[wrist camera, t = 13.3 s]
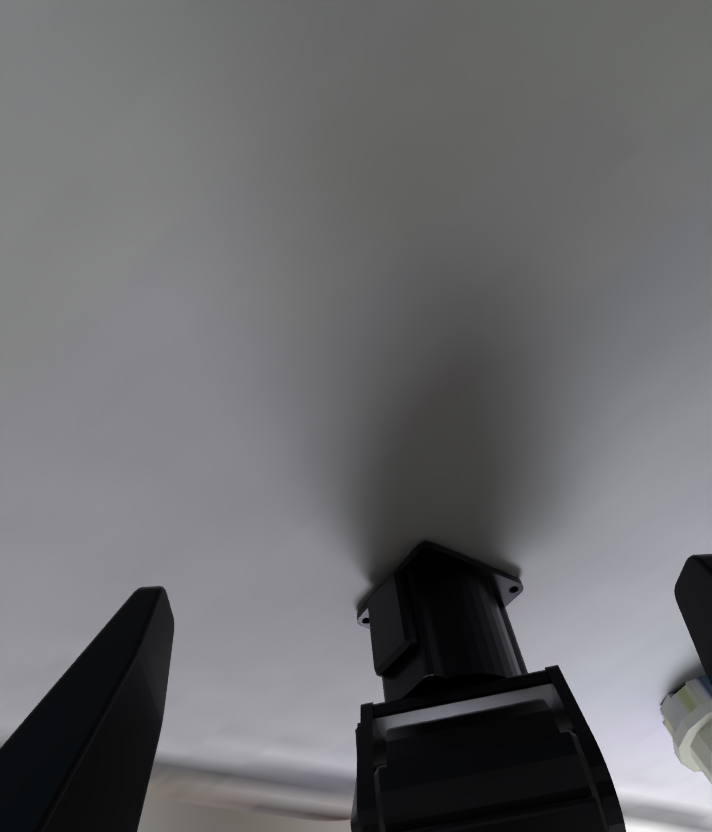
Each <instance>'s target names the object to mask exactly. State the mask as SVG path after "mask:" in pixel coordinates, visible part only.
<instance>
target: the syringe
mask: <svg viewBox="0 0 712 832" xmlns="http://www.w3.org/2000/svg"><path fill="white" fill-rule="evenodd" d="M685 684H686V685H685V686H683V687H682V688H681V689H680V690H679V691H678V692H677V693H676V694H667V696H666V698H665V700H664V702H663V704H662V706H661V708H660V709H661V711H662V713H663V716H664V721H663V724H664V725H665V727H666V728H667V730H668V732H669V733H670V735H671V736H672V739H673V745H674V752H675V754H676V756H677V758H678V759H679V761H680V763H681V764H683V765H684V766H686V767H687V768H689V769H691V770H692V771H694V772H698V771H702V772H703V773H704V775H705V776H706V777H707V778H708V780H709V781H710V782H711V784H712V685H711V683H710V681H709V679H708V677H707V676H702V677H699V678H696V679H693V680H690V681H687V682H685Z"/></svg>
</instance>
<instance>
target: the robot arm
mask: <svg viewBox="0 0 712 832" xmlns="http://www.w3.org/2000/svg"><path fill="white" fill-rule="evenodd" d="M427 551H429V552H427ZM425 552H426V553H425ZM522 591H523V585H522V583H521V580H520V579H519V578H517V577H515V576H513V575H510V574H508V573H505V572H503V571H500V570H498V569H496V568H493V567H491V566H488V565H486V564H483V563H481V562H479V561H476V560H474V559H471V558H469V557H466V556H464V555H462V554H459V553H457V552H454V551H452V550H449V549H447V548H444V547H442V546H440V545H437V544H435V543H432V542H423V543H420V544H419V545H418V546H417V547H416V548H415V549H414V550H413V551H412V552H411V553H410V555H409V556H408V557H407V558H406V559H405V560H404V561H403V562H402V563H401V565H400V566H399V567H398V568H397V569H396V570H395V571H394V572H393V573H392V574H391V575H390V576H389V577H388V578H387V579H386V581H385V582H384V583H383V584H382V585H381V586H380V587H379V588H378V589H377V591H376V592H375V593H374V594H373V595H372V596H371V597H370V598H369V599H368V601H367V602H366V603H365V604H364V606H363V607H362V608H361V609H360V610H359V611H358V613H357V623H358V624H359V625H361V626H363V627H366V628H369V629H370V632H371V642H372V651H373V661H374V669H375V672H376V675H377V676H380V677H382V681H383V689H384V698H385V702H383V703H378V704H373V702H372V703H367V704H362V705H361V723H358V727H357V729H356V730H355V732H356V746H357V778H356V786H355V793H354V800H353V807H352V814H351V831H352V832H626V829H625V823H624V819H623V815H622V811H621V807H620V804H619V800H618V797H617V794H616V791H615V788H614V785H613V782H612V779H611V776H610V773H609V771H608V768H607V765H606V763H605V760H604V758H603V756H602V753H601V751H600V749H599V747H598V744H597V742H596V740H595V738H594V736H593V734H592V732H591V730H590V728H589V726H588V724H587V722H586V720H585V718H584V716H583V714H582V712H581V710H580V708H579V706H578V704H577V702H576V700H575V698H574V696H573V694H572V692H571V690H570V688H569V686H568V684H567V682H566V680H565V678H564V676H563V674H562V672H561V670H560V668H559V666H558V665H555V666H550V667H545V670H542V671H537V672H532V673H528V672H527V669H526V666H525V663H524V660H523V657H522V655H521V652H520V649H519V646H518V643H517V640H516V637H515V635H514V632H513V629H512V626H511V623H510V620H509V617H508V615H507V612H506V609H505V607H506V606H507V605H508V604H509V603H510V602H511V601H512V600H513V599H515V598H516V597H517V596H518V595H519V594H520V593H521V592H522ZM675 598H676V601H677V604H678V606H679V609H680V611H681V613H682V616H683V618H684V621H685V623H686V626H687V628H688V631H689V633H690V636H691V638H692V640H693V643H694V645H695V648H696V650H697V653H698V655H699V658H700V660H701V663H702V665H703V667H704V670H705V672H706V674H707V677H708V679H709V681H710V683H711V685H712V554H702V555H692V556H690V557H689V558H688V559H687V560H686V562H685V565H684V567H683V569H682V571H681V573H680V576H679V578H678V580H677V582H676V585H675ZM173 635H174V618H173V614H172V610H171V607H170V603H169V600H168V596H167V593H166V590H165V589H164V588H163V587H161V586H153V587H141V588H139V589H137V590H136V591H135V592H134V593H133V594H132V595H131V596H130V597H129V599H128V600H127V601H126V602H125V603H124V604H123V606H122V607H121V608H120V609H119V610H118V611H117V613H116V614H115V615H114V616H113V617H112V618H111V620H110V621H109V622H108V623H107V624H106V625H105V627H104V628H103V629H102V630H101V631H100V632H99V634H98V635H97V636H96V637H95V638H94V639H93V641H92V642H91V643H90V644H89V645H88V646H87V648H86V649H85V650H84V651H83V652H82V653H81V655H80V656H79V657H78V658H77V659H76V661H75V662H74V663H73V664H72V665H71V666H70V668H69V669H68V670H67V671H66V672H65V673H64V675H63V676H62V677H61V678H60V679H59V680H58V682H57V683H56V684H55V685H54V686H53V687H52V689H51V690H50V691H49V692H48V693H47V694H46V696H45V697H44V698H43V699H42V700H41V701H40V703H39V704H38V705H37V706H36V707H35V708H34V710H33V711H32V712H31V713H30V714H29V715H28V717H27V718H26V719H25V720H24V721H23V722H22V724H21V725H20V726H19V727H18V728H17V729H16V731H15V732H14V733H13V734H12V735H11V736H10V738H9V739H8V740H7V741H6V742H5V743H4V745H3V746H2V747H1V748H0V832H137V830H138V825H139V821H140V817H141V813H142V809H143V804H144V800H145V796H146V792H147V787H148V783H149V779H150V775H151V771H152V766H153V762H154V758H155V754H156V749H157V745H158V741H159V736H160V732H161V727H162V721H163V714H164V707H165V699H166V691H167V683H168V675H169V667H170V659H171V651H172V643H173Z"/></svg>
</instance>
